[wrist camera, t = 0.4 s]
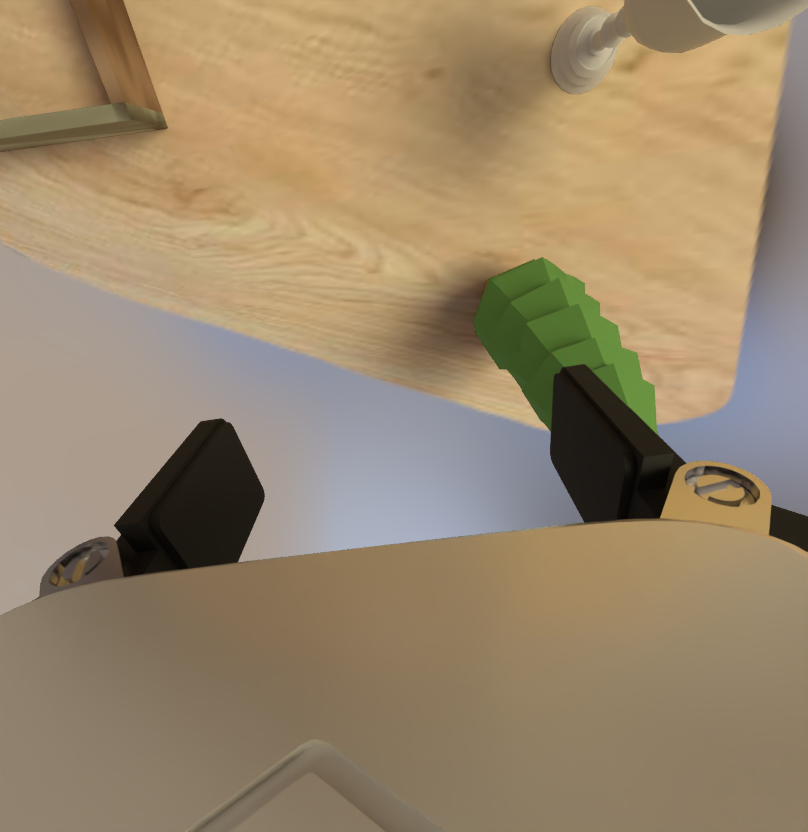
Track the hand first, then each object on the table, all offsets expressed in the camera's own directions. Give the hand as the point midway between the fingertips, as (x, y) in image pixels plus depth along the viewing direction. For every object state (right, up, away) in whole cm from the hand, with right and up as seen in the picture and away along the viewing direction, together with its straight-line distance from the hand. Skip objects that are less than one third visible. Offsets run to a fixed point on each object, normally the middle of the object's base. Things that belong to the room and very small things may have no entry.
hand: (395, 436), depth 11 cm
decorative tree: (+11, +13, +28) cm, 33 cm away
